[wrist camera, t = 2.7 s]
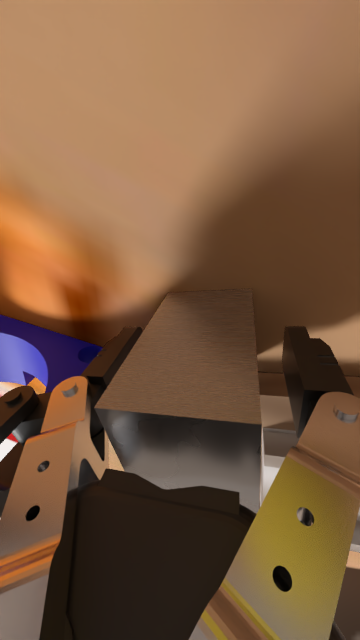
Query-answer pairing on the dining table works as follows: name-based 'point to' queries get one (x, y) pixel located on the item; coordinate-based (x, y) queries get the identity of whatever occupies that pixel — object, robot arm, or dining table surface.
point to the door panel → (284, 433)
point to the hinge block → (191, 396)
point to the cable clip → (40, 354)
